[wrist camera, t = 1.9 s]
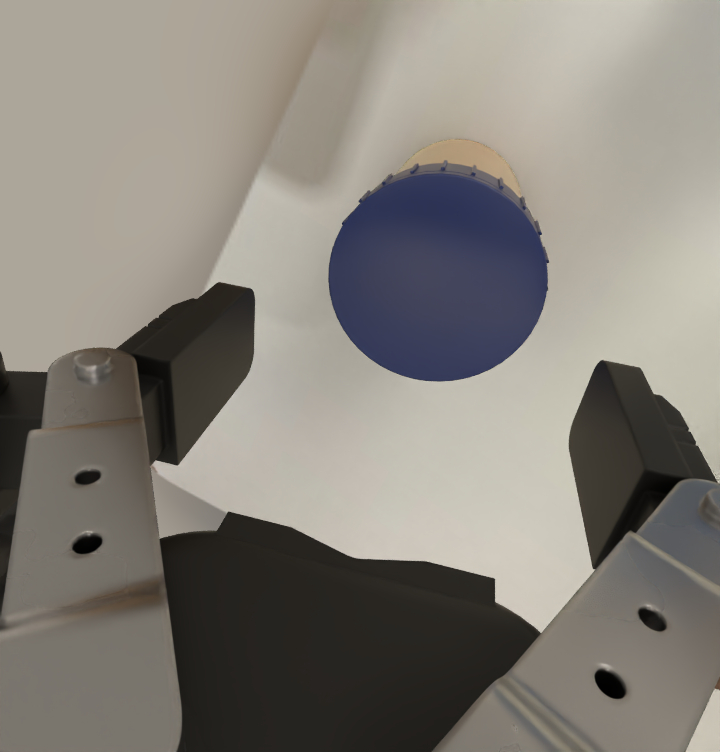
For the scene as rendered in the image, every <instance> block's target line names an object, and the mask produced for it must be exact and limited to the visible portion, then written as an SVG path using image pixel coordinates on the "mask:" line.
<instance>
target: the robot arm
mask: <svg viewBox="0 0 720 752" xmlns="http://www.w3.org/2000/svg"><path fill="white" fill-rule="evenodd" d="M254 321H255V296H254V292H253V290H252V289H251V288H246V287H241V286H236V285H231V284H226V283H221V282H219V283H217V284H215V285H214V286H213V287H212V288H210V289H209V290H208V291H207V292H205V293H204V294H203V295H202V296H200V297H199V298H198V299H194V298H193V299H189V300H186V301H183V302H181V303H178V304H175V305H172V306H171V307H170V308H168V309H167V310H166V311H164V312H163V313H162V314H161V315H159V318H155V319H154V320H153V321H151V322H150V323H149V324H148V327H146V326H145V327H144V328H142V329H141V330H140V331H138V332H137V333H136V334H134V335H133V336H132V337H131V338H129V339H128V340H127V341H125V342H124V343H123V344H122V345H120V346H119V347H118V348H116V349H111V348H89V349H83V350H78V351H74V352H71V353H69V354H66V355H64V356H62V357H60V358H58V359H57V360H55V361H54V362H53V363H52V364H51V366H50V367H49V369H48V372H20V371H19V372H18V371H17V372H16V371H6V370H5V366H4V362H3V358H2V354H1V352H0V752H685V751H686V749H687V747H688V744H689V742H690V740H691V738H692V736H693V734H694V731H695V729H696V727H697V725H698V723H699V721H700V718H701V716H702V714H703V712H704V710H705V708H706V705H707V703H708V701H709V699H710V697H711V695H712V693H713V690H714V688H715V686H716V684H717V682H718V680H719V677H720V484H719V483H718V482H717V481H716V479H715V477H714V475H713V473H712V471H711V469H710V468H709V466H708V464H707V462H706V460H705V458H704V456H703V454H702V453H701V451H700V449H699V447H698V446H696V445H695V444H696V441H695V440H694V438H693V436H692V434H691V432H688V429H689V428H688V426H687V425H686V423H685V421H684V419H683V417H682V415H681V413H680V412H679V411H678V410H677V409H676V408H675V407H673V406H672V405H671V404H670V403H669V402H668V401H667V400H666V399H665V398H663V397H662V396H660V395H655V394H653V392H652V390H651V388H650V386H649V384H648V382H647V380H646V378H645V376H644V374H643V372H642V370H641V368H639V367H634V366H629V365H624V364H619V363H614V362H609V361H604V360H601V361H600V362H599V363H598V364H597V365H596V367H595V369H594V371H593V374H592V376H591V378H590V381H589V383H588V386H587V388H586V391H585V393H584V396H583V398H582V400H581V403H580V405H579V408H578V410H577V413H576V415H575V418H574V420H573V423H572V426H571V430H570V436H569V452H570V457H571V462H572V467H573V472H574V477H575V482H576V487H577V492H578V497H579V502H580V507H581V512H582V517H583V522H584V527H585V532H586V537H587V542H588V547H589V552H590V557H591V562H592V567H593V569H596V570H595V571H594V572H593V573H592V575H591V576H590V577H589V578H588V579H587V580H586V582H585V583H584V584H583V585H582V586H581V587H580V589H579V590H578V591H577V592H576V593H575V594H574V596H573V597H572V598H571V599H570V600H569V601H568V603H567V604H566V605H565V606H564V607H563V608H562V610H561V611H560V612H559V613H558V614H557V615H556V617H555V618H554V619H553V620H552V621H551V622H550V624H549V625H548V626H547V627H546V628H545V629H544V631H543V632H542V633H540V632H539V631H538V630H537V629H536V628H535V627H533V626H532V625H531V624H529V623H528V622H527V621H525V620H524V619H523V618H521V617H520V616H518V615H517V614H515V613H514V612H512V611H510V610H509V609H507V608H505V607H504V606H502V605H500V604H498V603H496V602H495V579H494V578H490V577H486V576H482V575H478V574H474V573H470V572H466V571H462V570H458V569H454V568H450V567H446V566H442V565H438V564H434V563H430V562H425V561H399V560H373V559H356V558H352V557H350V556H347V555H345V554H343V553H341V552H339V551H337V550H335V549H333V548H331V547H329V546H327V545H325V544H323V543H321V542H319V541H317V540H315V539H313V538H311V537H309V536H307V535H305V534H303V533H301V532H299V531H297V530H295V529H293V528H291V527H288V526H284V525H280V524H276V523H272V522H268V521H264V520H260V519H256V518H252V517H248V516H244V515H240V514H236V513H232V512H228V513H227V515H226V517H225V518H224V520H223V522H222V523H221V525H220V527H219V528H218V530H217V531H197V532H188V533H182V534H176V535H172V536H168V537H164V538H161V539H159V531H158V523H157V515H156V508H155V500H154V492H153V484H152V476H151V468H150V466H151V465H152V464H153V462H154V461H155V460H157V461H161V462H165V463H170V464H174V465H179V463H180V462H181V461H182V459H183V458H184V457H185V455H186V454H187V453H188V452H189V450H190V449H191V448H192V446H193V445H194V444H195V443H196V441H197V440H198V439H199V437H200V436H201V435H202V434H203V432H204V431H205V430H206V428H207V427H208V426H209V424H210V423H211V422H212V421H213V419H214V418H215V417H216V415H217V414H218V413H219V412H220V410H221V409H222V408H223V406H224V405H225V404H226V403H227V401H228V400H229V399H230V397H231V396H232V395H233V393H234V392H235V391H236V390H237V388H238V387H239V386H240V384H241V383H242V382H243V381H244V379H245V378H246V376H247V375H248V373H249V371H250V368H251V365H252V361H253V355H254Z"/></svg>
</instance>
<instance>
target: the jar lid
mask: <svg viewBox="0 0 720 752" xmlns="http://www.w3.org/2000/svg"><path fill="white" fill-rule="evenodd" d="M476 168H477V166H476V165H473V167H469V166H465V165H461V164H452V163H448V160H444V162H443V163H432V164H426V165H420V166H419V163H417V164H415V165H414V166H413V168H410V169H407V170H404V171H402V172H400V173H398V174H395V175H392V174H390V175H388V176H387V177H386V179H385V180H384V181H383V182H382V183H381V184H379V185H378V186H377V187H376V188H375V189H374V190H373V191H372V192H370V191H368V192H367V193H366V194H365V195H364V196H363V197H362V198H361V199H360V200H359V202H360V204H359V205H358V206H357V207H356V209H355V210H354V211H353V212H352V213H351V214H350V215H349V216H348V217H347V218H346V219H345V220H344V221H343V223H342V225H343V226H342V228H341V229H340V232H339V234H338V236H337V238H336V240H335V243H334V246H333V248H332V253H331V257H330V263H329V290H330V296H331V300H332V305H333V308H334V310H335V313H336V316H337V318H338V320H339V322H340V324H341V326H342V328H343V329H344V331H345V332H346V334H347V335H348V337H349V338H350V340H351V341H352V342H353V343H354V344H355V345H356V346H357V347H358V349H359V350H361V351H362V352H363V353H364V354H365V355H366V356H367V357H368V358H370V359H371V360H373V361H374V362H376V363H377V364H379V365H380V366H382V367H384V368H386V369H388V370H390V371H392V372H394V373H397V374H399V375H402V376H405V377H409V378H413V379H418V380H424V381H454V380H459V379H464V378H468V377H471V376H475V375H478V374H480V373H483V372H485V371H487V370H489V369H491V368H493V367H495V366H496V365H498V364H500V363H501V362H503V361H504V360H505V359H507V358H508V357H509V356H511V355H512V354H513V353H514V352H515V351H516V350H517V349H518V348H519V347H520V346H521V345H522V344H523V343H524V342H525V340H526V339H527V338H528V336H529V335H530V334H531V332H532V330H533V329H534V327H535V325H536V324H537V322H538V319H539V317H540V315H541V312H542V310H543V306H544V302H545V298H546V293H547V291H548V287H547V284H548V273H547V263H549V260H548V256H547V253H546V250H545V247H543V245H542V242H541V238H540V235H542V233H541V230H540V226H539V223H538V221H537V220H536V221H534V219H533V217H532V215H531V213H530V211H529V210H528V208H527V207H526V204H525V200H524V198H523V197H522V196H521V197H520V198H519V197H518V196H517V194H516V193H515V192H514V191H513V190H512V189H511V188H509V187H508V186H507V185H506V184H504V183H503V179H502V178H501V177H500V178H499V179H497V178H495V177H494V176H492V175H490V174H488V173H486V172H484V171H481V170H479V169H476Z"/></svg>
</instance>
